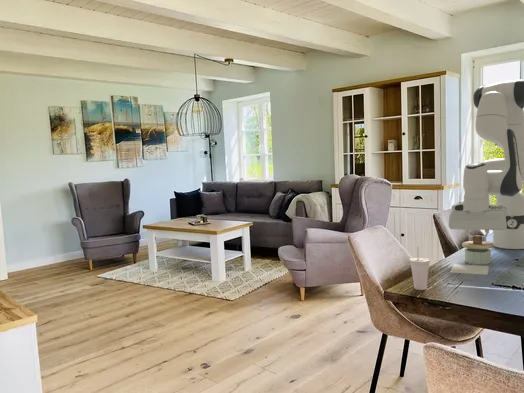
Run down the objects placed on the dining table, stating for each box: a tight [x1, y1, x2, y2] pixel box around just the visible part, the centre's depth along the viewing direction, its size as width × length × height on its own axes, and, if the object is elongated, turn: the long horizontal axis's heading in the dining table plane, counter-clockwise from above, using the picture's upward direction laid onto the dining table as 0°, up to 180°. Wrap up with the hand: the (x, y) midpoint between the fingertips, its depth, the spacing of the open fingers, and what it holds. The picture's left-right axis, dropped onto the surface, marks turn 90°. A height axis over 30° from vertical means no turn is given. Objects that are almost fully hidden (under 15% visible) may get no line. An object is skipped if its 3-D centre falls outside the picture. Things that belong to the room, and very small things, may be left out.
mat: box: [450, 263, 490, 276], centre depth 163 cm, size 12×12×1 cm
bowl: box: [464, 248, 492, 265], centre depth 173 cm, size 9×9×5 cm
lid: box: [461, 234, 495, 249], centre depth 173 cm, size 11×11×4 cm
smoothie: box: [409, 246, 431, 291], centre depth 146 cm, size 6×6×14 cm
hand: (477, 240), depth 173 cm, fingers closed on lid, 3 cm apart
